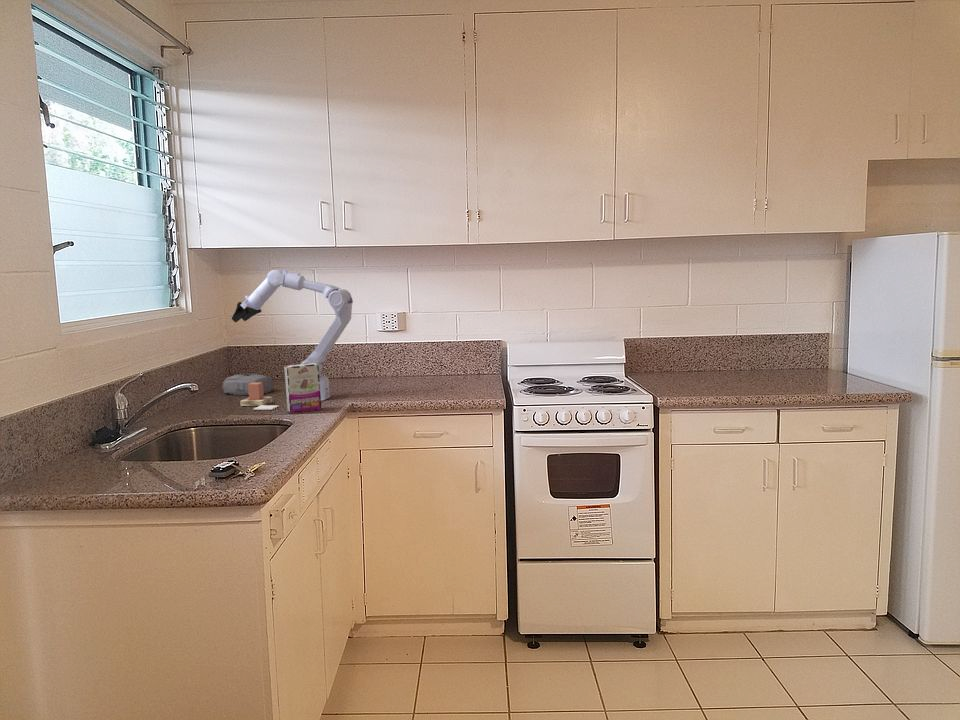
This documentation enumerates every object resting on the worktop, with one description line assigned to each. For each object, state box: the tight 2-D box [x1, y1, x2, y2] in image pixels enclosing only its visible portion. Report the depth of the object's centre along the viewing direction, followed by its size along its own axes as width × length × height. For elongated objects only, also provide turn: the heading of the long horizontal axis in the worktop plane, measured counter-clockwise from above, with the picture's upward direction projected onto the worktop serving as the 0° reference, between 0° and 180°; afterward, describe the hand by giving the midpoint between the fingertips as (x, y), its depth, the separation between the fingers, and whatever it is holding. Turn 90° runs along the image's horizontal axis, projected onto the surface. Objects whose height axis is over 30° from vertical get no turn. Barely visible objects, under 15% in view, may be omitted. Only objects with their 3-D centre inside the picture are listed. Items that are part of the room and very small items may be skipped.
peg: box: [248, 383, 265, 400], centre depth 267 cm, size 4×4×8 cm
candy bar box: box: [283, 363, 322, 414], centre depth 252 cm, size 11×5×16 cm, turn 117°
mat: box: [252, 404, 280, 411], centre depth 258 cm, size 7×6×1 cm
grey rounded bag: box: [221, 372, 274, 396], centre depth 294 cm, size 15×8×20 cm
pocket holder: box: [239, 396, 273, 407], centre depth 267 cm, size 8×8×2 cm
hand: (238, 319), depth 275 cm, fingers open, 7 cm apart
